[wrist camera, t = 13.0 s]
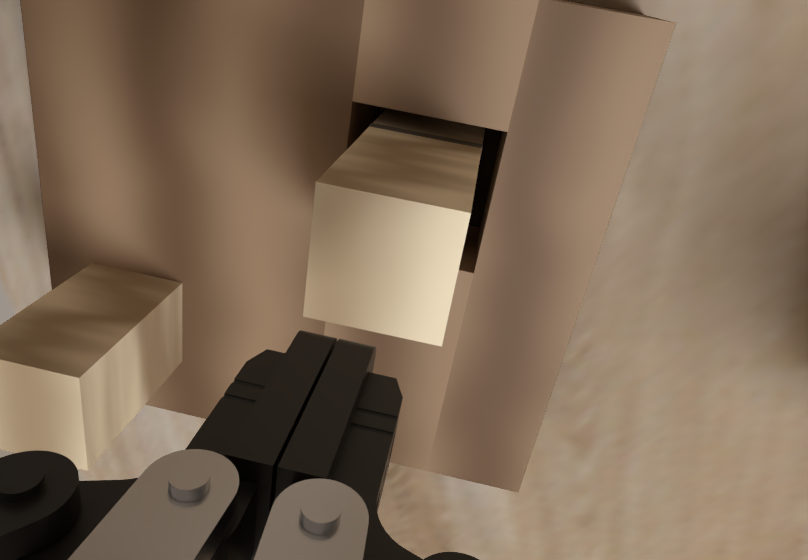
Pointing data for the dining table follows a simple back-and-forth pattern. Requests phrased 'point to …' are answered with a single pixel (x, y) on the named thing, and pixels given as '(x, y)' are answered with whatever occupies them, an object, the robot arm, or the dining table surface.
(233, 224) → the seat board
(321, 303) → the peg
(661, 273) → the dining table surface
